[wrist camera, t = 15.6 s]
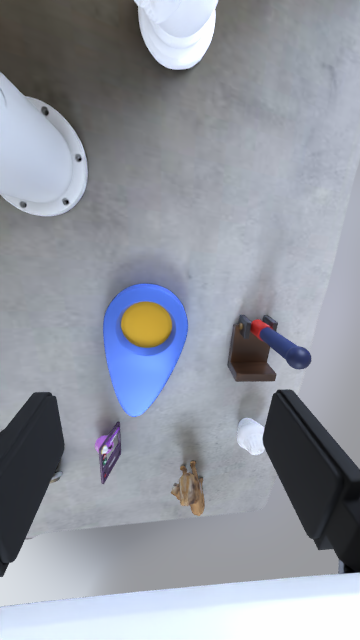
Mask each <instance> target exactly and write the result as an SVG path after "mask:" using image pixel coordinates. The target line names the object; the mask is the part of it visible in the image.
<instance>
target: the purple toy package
mask: <svg viewBox="0 0 360 640" xmlns="http://www.w3.org/2000/svg"><path fill="white" fill-rule="evenodd" d="M116 428H117V430H116V431H115V429H116ZM114 431H115V433H114V434H113V432H114ZM117 433H118V444H117V446H116V448H115V449H114V451H113V452H112V454H111V456H110V457H109V459H108V461H107V457H106V454H107V453H109V452H110V451H111V450H112V448H113V439H114V438H115V436H116V434H117ZM112 434H113V435H112ZM111 435H112V437H111V438H110V436H111ZM95 448H96V450H97V451H98V453H99V460H100V471H101V483H102V484H104V483H105V481H106V479H107V477H108V476H109V474H110V472H111V470H112V469H113V467H114V465H115V463H116V462H117V460H118V458H119V456H120V455H121V442H120V422H117V423H116V425H115V426H114V428H113V429H112V431H111V432H110V433H109V435H108V436H101V437H100V438H98V439H97V441H96V443H95ZM105 457H106V458H105ZM102 461H103V463H102ZM106 461H107V462H106ZM104 465H105V466H104ZM103 466H104V467H103Z"/></svg>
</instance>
